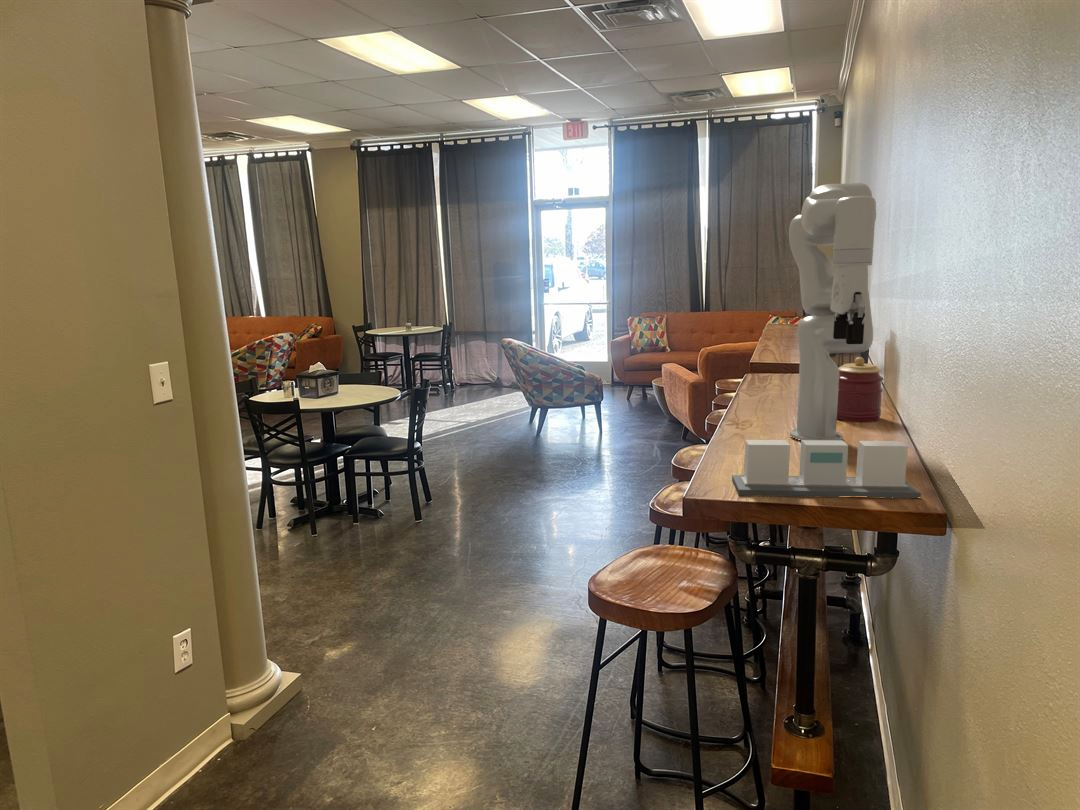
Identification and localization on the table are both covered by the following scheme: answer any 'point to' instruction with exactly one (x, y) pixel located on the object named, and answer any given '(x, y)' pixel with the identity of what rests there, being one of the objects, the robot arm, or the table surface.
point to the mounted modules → (873, 468)
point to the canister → (859, 392)
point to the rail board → (822, 490)
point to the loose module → (823, 462)
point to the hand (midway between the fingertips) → (847, 341)
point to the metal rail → (798, 483)
